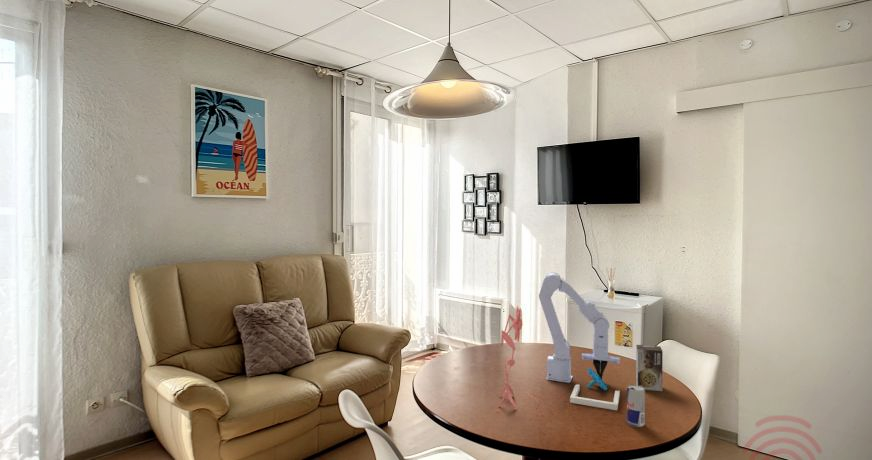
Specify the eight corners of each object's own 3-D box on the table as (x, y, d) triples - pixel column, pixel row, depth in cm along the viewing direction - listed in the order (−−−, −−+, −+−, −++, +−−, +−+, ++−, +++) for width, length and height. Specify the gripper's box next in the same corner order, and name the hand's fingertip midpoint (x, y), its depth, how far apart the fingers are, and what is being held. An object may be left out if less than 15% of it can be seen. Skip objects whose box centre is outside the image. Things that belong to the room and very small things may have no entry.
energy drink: (623, 420, 152) (624, 384, 151) (639, 420, 152) (639, 384, 152) (631, 428, 146) (632, 391, 146) (647, 427, 147) (648, 390, 146)
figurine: (495, 416, 154) (499, 313, 153) (497, 388, 179) (500, 300, 178) (542, 421, 152) (546, 316, 150) (537, 391, 177) (540, 302, 176)
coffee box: (660, 386, 183) (661, 346, 182) (662, 392, 176) (663, 350, 176) (635, 383, 186) (636, 343, 185) (636, 388, 179) (637, 348, 179)
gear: (608, 390, 173) (589, 369, 176) (596, 400, 174) (577, 378, 178) (609, 385, 183) (591, 364, 186) (598, 394, 184) (580, 373, 188)
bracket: (570, 402, 166) (570, 397, 166) (575, 389, 179) (575, 384, 179) (617, 410, 159) (617, 404, 159) (619, 396, 172) (619, 391, 172)
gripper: (620, 345, 186) (619, 378, 187) (583, 341, 192) (582, 372, 193) (619, 349, 180) (618, 383, 180) (581, 345, 186) (580, 378, 186)
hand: (600, 378), depth 186 cm, fingers closed
